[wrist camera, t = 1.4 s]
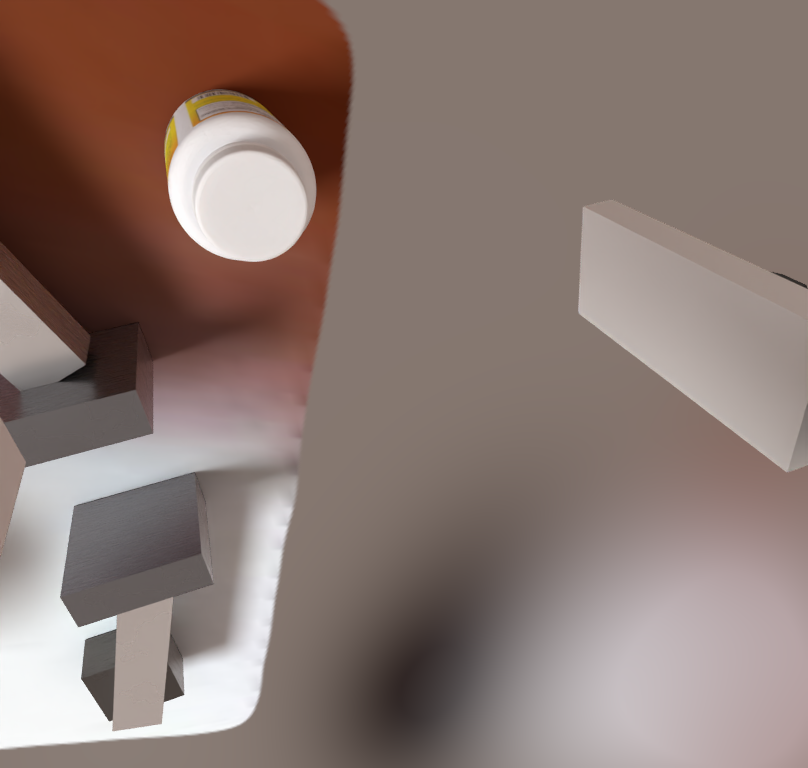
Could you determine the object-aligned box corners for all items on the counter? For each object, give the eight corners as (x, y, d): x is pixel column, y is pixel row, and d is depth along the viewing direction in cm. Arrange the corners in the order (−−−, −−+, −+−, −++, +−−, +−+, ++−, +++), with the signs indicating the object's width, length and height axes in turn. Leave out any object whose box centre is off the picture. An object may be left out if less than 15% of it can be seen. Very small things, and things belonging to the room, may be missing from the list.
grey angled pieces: (111, 683, 46) (106, 780, 40) (-267, 63, 24) (-398, 87, 18) (254, 634, 48) (268, 720, 43) (27, 25, 26) (-7, 35, 20)
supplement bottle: (224, 230, 33) (248, 312, 24) (137, 141, 30) (131, 201, 21) (307, 158, 32) (360, 216, 24) (228, 59, 29) (258, 87, 21)
